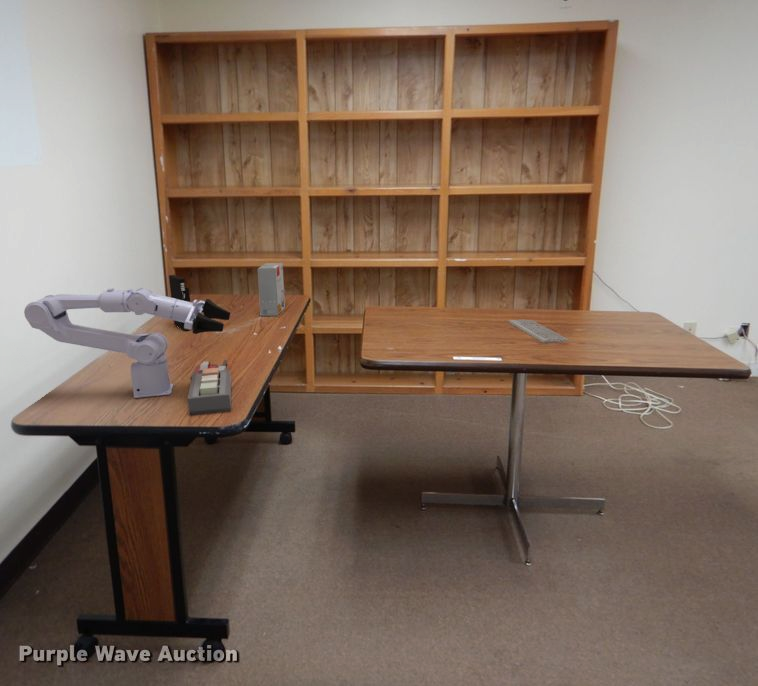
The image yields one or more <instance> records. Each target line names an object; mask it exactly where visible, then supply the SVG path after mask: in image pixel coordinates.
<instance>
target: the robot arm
mask: <svg viewBox="0 0 758 686" xmlns="http://www.w3.org/2000/svg"><path fill="white" fill-rule="evenodd" d="M79 309H81V310H83V309H100V310H101V311H102V312H104V313H130V312H132V313H134V314H135V315H136V316H142V315H144V314H147V315H151V316H154V317H158V318H164V319H167V320H172V321H174V320H175V321H179V322H183V323H185V324H184V328H185V329H190V330H189V331H192V334H194V335H197V334H200V333H207V332H209V333H210V332H212V333H213V332H214V333H215V332H217V333H220V332H223V330H224V326H225V323H223V322H221V321H218V320H223V321H230V316H231V312H230V311H228V310H227V309H224V308H222V307H220V306H219V305H217V304H216V303H214V302H213V301H212V300H211V299H209V298H206V299H205V301H204V300H199V301H198V299H194V300H193V301H192V302H191V301H190V302H187V301H183V300H179V299H175V298H171V296H166V295H162V294H161V295H160V294H157V293H153V291H151V290H150V289H147V288H143V287H140V288H137V289H136V290H135V291H134V290H133V289H132V288H127V289H126V290H115V288H114V287H113V288H110V287H109V288H107V289H106V290H103V291H102V292H101V293H100V294H98V295H96V294H95V295H92V294H70V293H69V294H67V293H66V294H64V293H59V294H58V293H57V294H55V295H53V294H49V295H45V296H43V297H42V298H40V299H38V300H36V301H32V302H29V303H28V304H27V305H26V306H25V308H24V311H23V312H24V313H23V314H24V317H25V320H27V322H28V324H29V325H30V327H31V328H32V329H35V330H38V331H39V330H40V331H41V332H42V333H44V334H46V335H47V336H49V337H50V338H52V339H53V340H55V341H56V342H59V343H65V344H68V345H69V344H70V345H76V346H82V347H88V348H94V349H99V350H105V351H109V352H111V351H112V352H116V353H121V354H126V356H127V357H128V358H129V359H132V360H136V362H135V361H134V362H131V363H130V364H131V365H130V379H131V385H132V390H133V398H135V399H138V398H139V399H140V398H148V397H159V396H168V395H171V394H172V390H173V387H174V384H173V383H171V382H170V375H169V366H168V359H167V358H168V357H167V355H166V354H165V353H166V351H167V349H168V345H169V344H168V340H167V338H166V337H165V336H164V335H163V334H161V333H159V332H152V333H151V332H150V333H149V334H146V333H137V334H136V333H135V334H129V333H124V332H118V331H114V330H113V331H112V330H106V329H102V328H101V329H100V328H96V327H90V326H84V325H78V324H74V323H72V321H71V320H70V318H69V314H68V312H67V311H68V310H79Z"/></svg>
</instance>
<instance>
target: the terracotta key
mask: <svg viewBox="0 0 758 686" xmlns="http://www.w3.org/2000/svg"><path fill="white" fill-rule="evenodd" d="M202 375H203V376H208V375H218V378H219V371H218V368H209V369H203V373H202ZM218 384H219V383H218Z"/></svg>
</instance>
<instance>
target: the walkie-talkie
mask: <svg viewBox="0 0 758 686" xmlns="http://www.w3.org/2000/svg"><path fill="white" fill-rule="evenodd" d="M227 363H228V360H227V359H224V360H223V362H222V365H218V364H217V363H211V361H210V360H209V361H202V362H201V363H200V364H198V365H196V366H195V368H194V370H193V372H192V374H191V376H190V377H189V378H190V381H191V380H192V375H193V373H201V372H203V369H209V368H218V371H223V370H227Z"/></svg>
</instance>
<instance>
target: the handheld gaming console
mask: <svg viewBox="0 0 758 686" xmlns="http://www.w3.org/2000/svg"><path fill="white" fill-rule="evenodd" d="M168 281H169V287H170V289H169V290H170V297H171V298H175V299H179V300H183V301H187V302H191V297H190V296H191V294H190V287H186V282H185V281H186V280H185V278H183V277H181V276H178V275H175V274H169V275H168ZM173 323H174V324H173V325H174V326H176V327H177V326H178V327H179V328H178V327H177V328H178V329H180V328H181V329H180V330H182V329H183V330H182V331H191V330H190V329H185V328H184V324H185V323H183V322H179V321H175V320H173Z"/></svg>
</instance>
